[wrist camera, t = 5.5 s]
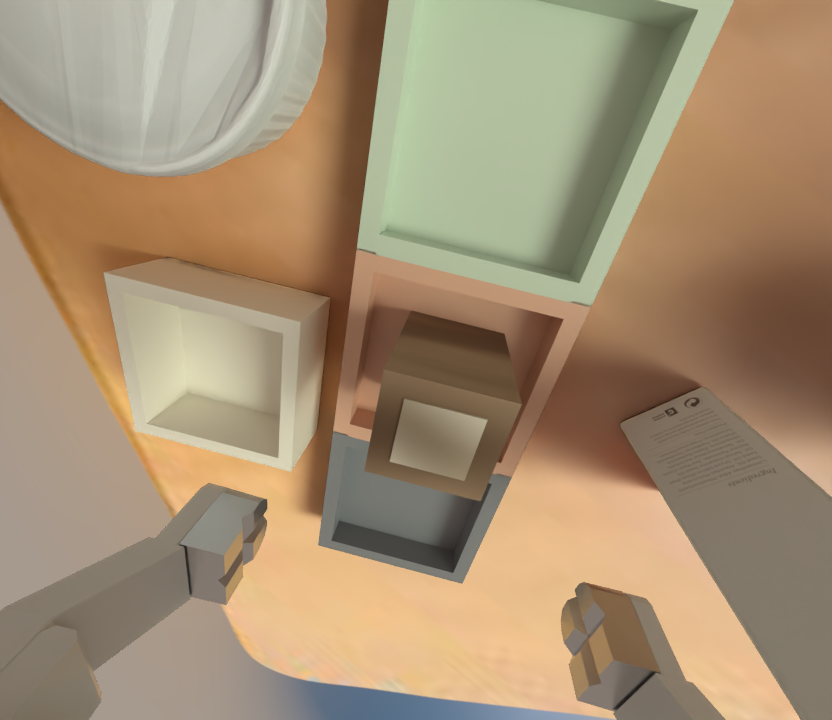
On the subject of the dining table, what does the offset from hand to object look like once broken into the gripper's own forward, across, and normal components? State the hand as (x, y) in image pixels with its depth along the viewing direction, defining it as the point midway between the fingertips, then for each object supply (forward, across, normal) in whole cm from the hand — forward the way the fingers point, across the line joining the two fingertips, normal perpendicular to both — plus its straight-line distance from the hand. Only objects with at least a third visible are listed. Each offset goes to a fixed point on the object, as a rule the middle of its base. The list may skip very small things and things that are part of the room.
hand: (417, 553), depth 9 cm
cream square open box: (+10, +10, +2) cm, 15 cm away
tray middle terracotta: (+10, 0, -1) cm, 10 cm away
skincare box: (+11, -13, +1) cm, 17 cm away
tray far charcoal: (+11, 0, +9) cm, 14 cm away
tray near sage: (+10, 0, -10) cm, 14 cm away
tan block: (+10, 0, -1) cm, 10 cm away
